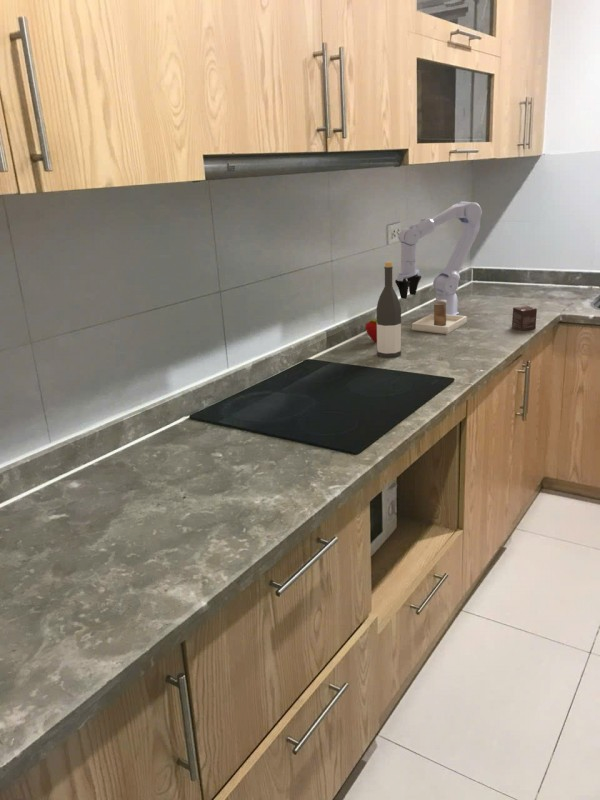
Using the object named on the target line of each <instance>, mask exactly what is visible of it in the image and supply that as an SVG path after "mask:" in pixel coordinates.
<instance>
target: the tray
mask: <svg viewBox="0 0 600 800" xmlns="http://www.w3.org/2000/svg"><path fill="white" fill-rule="evenodd" d="M467 323H468V316H466V315H459V314H457V315H448V314H446V325H445V326H436V325H434V312H432V313H430V314H428V315H426V316H424V317H422V318H419V319H418V320H417V321H414V322H412V323H411V331H418V332H425V333H432V334H433V333H434V334H442V335H443V334H444V335H448V334H450V333H452V332H453V331H455V330H457V329H459V328H461V327H463V326H464V325H466V324H467Z"/></svg>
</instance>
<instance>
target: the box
mask: <svg viewBox="0 0 600 800" xmlns="http://www.w3.org/2000/svg"><path fill="white" fill-rule="evenodd" d="M537 311H538V308H536V307H532V306H529V305H523V306H516V307H515V306H514V307H512V319H511V320H512V321H511V328H513V329H517V330H518V331H526V330H533V329H536V325H537Z"/></svg>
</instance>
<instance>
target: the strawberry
mask: <svg viewBox="0 0 600 800" xmlns="http://www.w3.org/2000/svg"><path fill="white" fill-rule="evenodd" d="M368 320H369V321H368V322H367V323H365V326H364V327H365V331H366V333H367V334H368V336H369V338H370V339H371V340H372V342H373V343H376V344H377V318H376V319H375V318H371V319H368Z"/></svg>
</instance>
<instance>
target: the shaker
mask: <svg viewBox="0 0 600 800" xmlns="http://www.w3.org/2000/svg"><path fill="white" fill-rule="evenodd" d="M446 304H447V301H446V300H436V299H435V300H433V313H434V325H436V326H445V325H446Z"/></svg>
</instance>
